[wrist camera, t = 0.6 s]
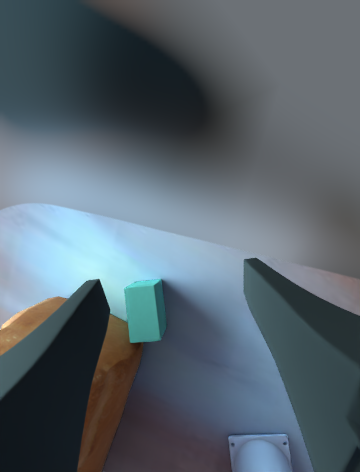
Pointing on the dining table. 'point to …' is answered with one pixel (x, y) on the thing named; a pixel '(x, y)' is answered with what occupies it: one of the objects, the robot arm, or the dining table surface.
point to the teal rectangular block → (145, 311)
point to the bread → (104, 381)
